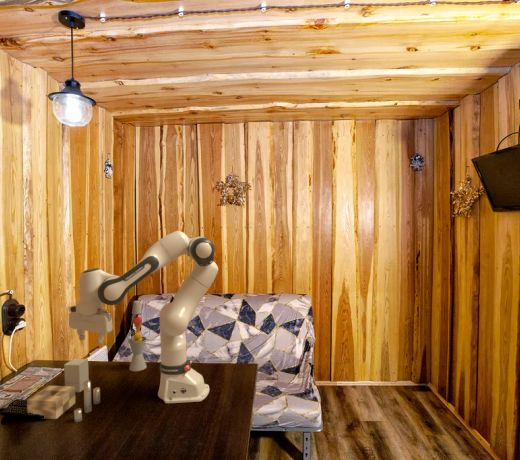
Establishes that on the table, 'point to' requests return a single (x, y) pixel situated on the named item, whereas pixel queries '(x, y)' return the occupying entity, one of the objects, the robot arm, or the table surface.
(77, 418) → the short steel pin
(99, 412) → the table surface
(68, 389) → the birch hole block
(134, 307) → the lava lamp
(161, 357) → the robot arm
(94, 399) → the medium steel pin
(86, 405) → the long steel pin
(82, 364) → the supplement box
